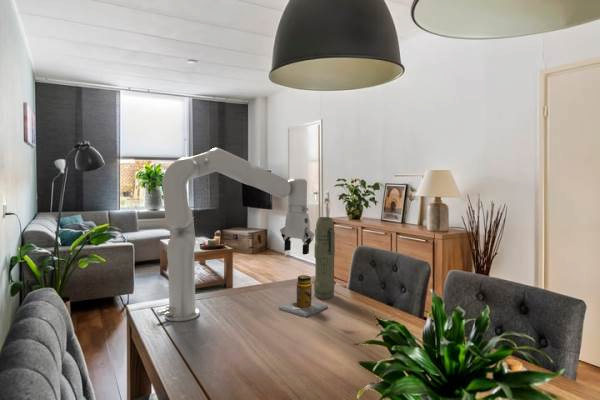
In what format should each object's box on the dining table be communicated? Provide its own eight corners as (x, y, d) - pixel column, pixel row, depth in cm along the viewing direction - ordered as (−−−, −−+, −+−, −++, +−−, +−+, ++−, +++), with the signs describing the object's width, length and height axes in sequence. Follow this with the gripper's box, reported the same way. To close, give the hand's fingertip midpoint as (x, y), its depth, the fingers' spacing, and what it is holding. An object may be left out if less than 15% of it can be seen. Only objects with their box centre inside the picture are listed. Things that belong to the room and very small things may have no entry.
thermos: (321, 290, 177) (322, 215, 175) (340, 297, 168) (341, 218, 166) (307, 294, 172) (308, 217, 169) (326, 301, 163) (327, 219, 160)
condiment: (314, 308, 152) (314, 278, 151) (293, 309, 150) (293, 279, 149) (309, 302, 159) (309, 273, 158) (289, 303, 157) (289, 274, 156)
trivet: (305, 317, 144) (305, 315, 144) (278, 309, 153) (278, 306, 153) (327, 307, 155) (327, 305, 155) (301, 300, 164) (301, 298, 164)
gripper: (320, 210, 150) (319, 254, 151) (287, 207, 161) (286, 247, 162) (308, 212, 144) (307, 257, 145) (275, 208, 155) (274, 250, 156)
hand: (296, 252), depth 154 cm, fingers open, 9 cm apart
